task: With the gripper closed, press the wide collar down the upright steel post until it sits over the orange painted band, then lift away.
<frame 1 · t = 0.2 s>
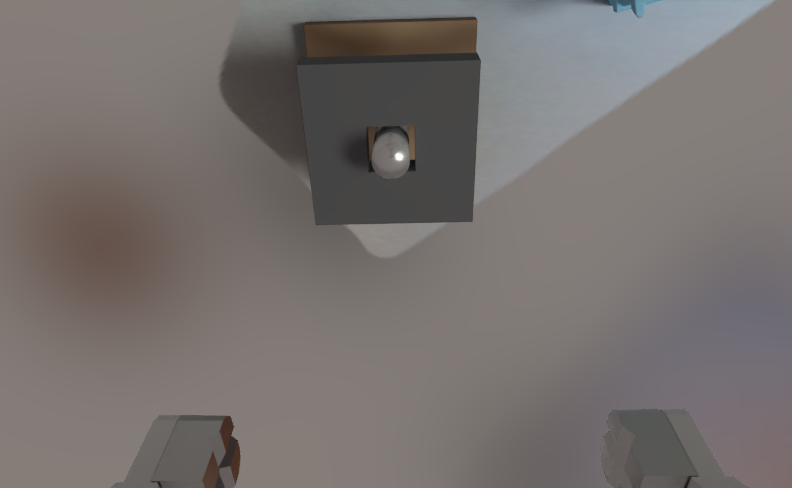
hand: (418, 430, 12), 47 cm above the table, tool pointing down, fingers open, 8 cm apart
board: (393, 103, 56), on the table
collar: (391, 143, 46), point 11 cm above the table, slide at 10.0 cm
post: (391, 131, 49), on the board, point 8 cm above the table
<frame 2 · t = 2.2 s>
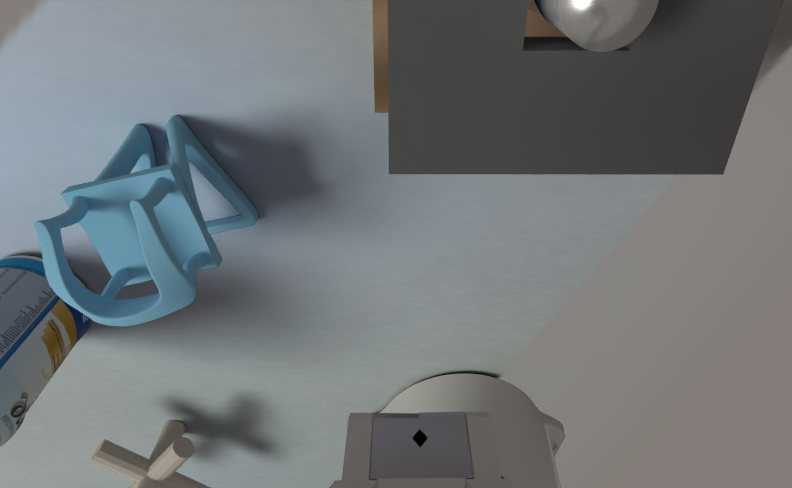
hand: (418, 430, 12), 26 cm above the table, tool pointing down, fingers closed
beverage bottle: (43, 294, 42), on the table
chair: (185, 176, 37), on the table
pipe connector: (175, 425, 50), on the table
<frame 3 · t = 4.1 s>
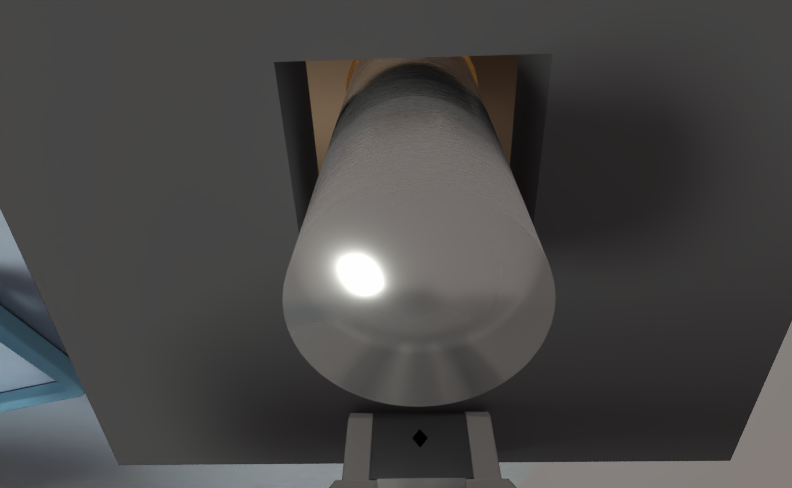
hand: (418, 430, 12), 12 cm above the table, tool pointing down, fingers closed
board: (410, 40, 19), on the table
collar: (413, 155, 10), point 10 cm above the table, slide at 9.2 cm, touching gripper
post: (412, 116, 12), on the board, point 8 cm above the table
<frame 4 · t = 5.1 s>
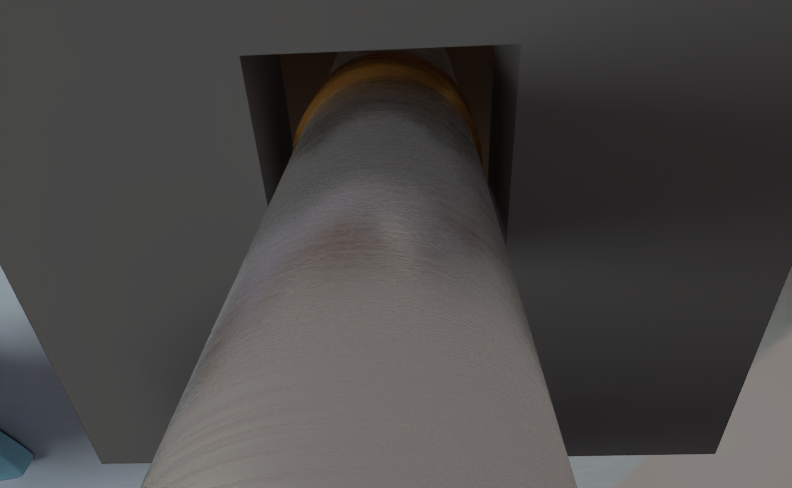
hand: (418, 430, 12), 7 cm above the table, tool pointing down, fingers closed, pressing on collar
board: (393, 67, 15), on the table
collar: (388, 149, 10), point 6 cm above the table, slide at 4.6 cm, touching gripper
post: (384, 212, 8), on the board, point 8 cm above the table
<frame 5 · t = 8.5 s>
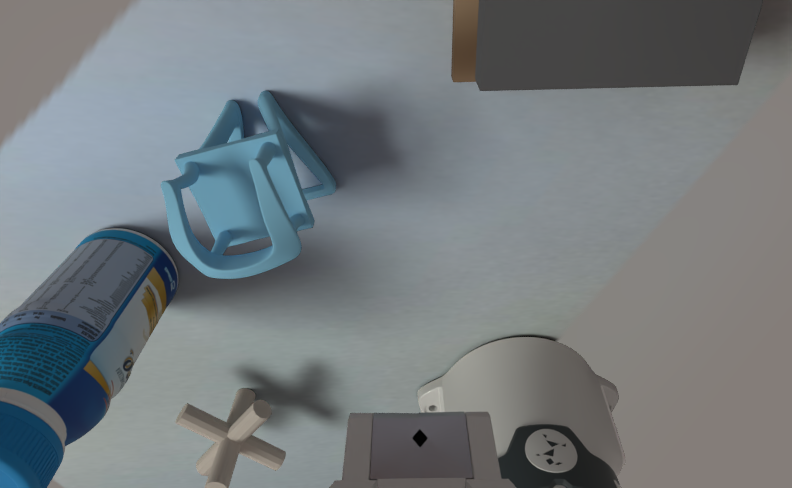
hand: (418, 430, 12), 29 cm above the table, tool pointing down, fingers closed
beverage bottle: (131, 266, 45), on the table
chair: (270, 149, 40), on the table
pipe connector: (246, 393, 53), on the table
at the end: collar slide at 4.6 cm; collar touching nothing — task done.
